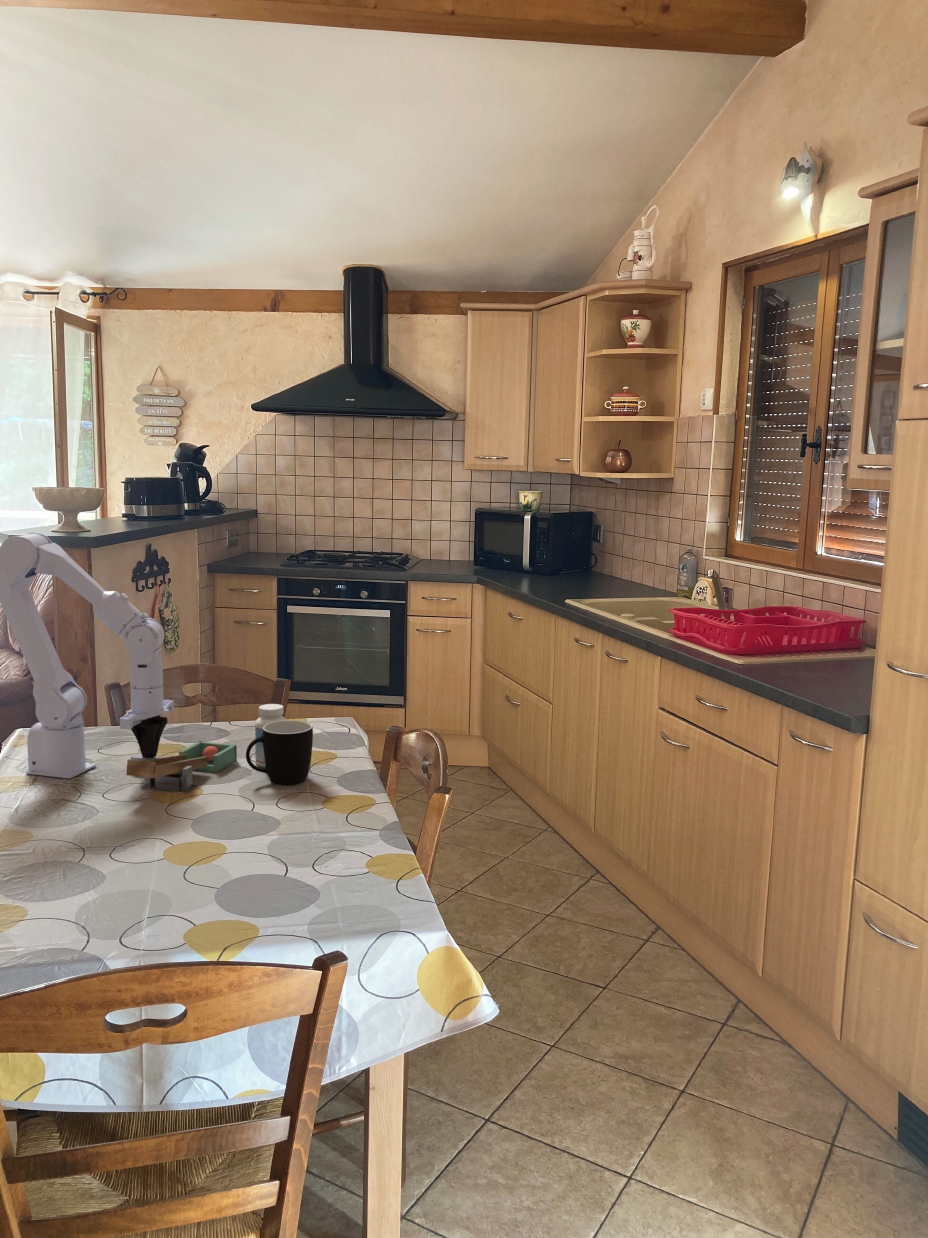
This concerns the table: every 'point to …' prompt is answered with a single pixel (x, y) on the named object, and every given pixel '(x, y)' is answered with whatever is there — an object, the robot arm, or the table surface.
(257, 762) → the pill bottle
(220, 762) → the dish
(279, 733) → the mug
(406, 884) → the table surface
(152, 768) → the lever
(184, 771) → the stand
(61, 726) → the robot arm
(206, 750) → the ball
